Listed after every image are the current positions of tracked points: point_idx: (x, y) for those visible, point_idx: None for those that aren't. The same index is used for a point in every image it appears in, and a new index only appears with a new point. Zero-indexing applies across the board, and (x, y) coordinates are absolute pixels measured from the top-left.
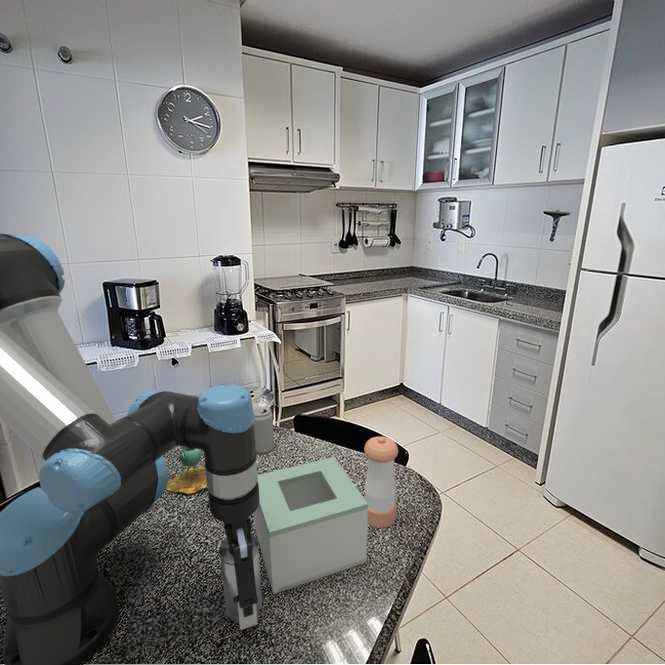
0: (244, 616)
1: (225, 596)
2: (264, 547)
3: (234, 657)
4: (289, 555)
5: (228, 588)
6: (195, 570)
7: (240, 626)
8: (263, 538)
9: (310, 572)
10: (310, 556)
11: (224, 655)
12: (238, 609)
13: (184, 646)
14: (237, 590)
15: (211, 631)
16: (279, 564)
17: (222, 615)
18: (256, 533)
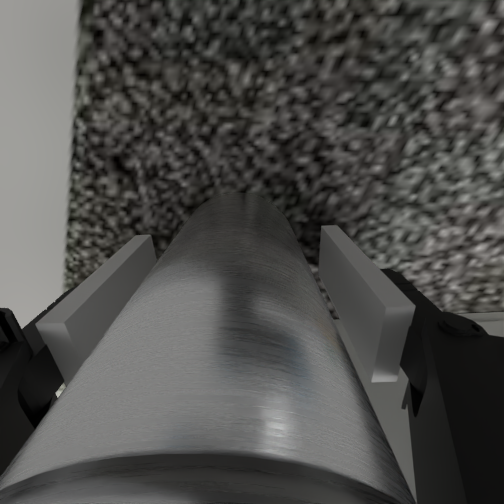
0: (68, 291)
1: (203, 220)
2: (374, 386)
3: (73, 205)
4: None
5: (154, 268)
6: (472, 76)
7: (129, 242)
8: (403, 424)
9: None
10: None
11: (81, 176)
12: (84, 280)
13: (129, 24)
14: (12, 361)
15: (170, 138)
16: None
17: (220, 179)
18: (490, 315)
